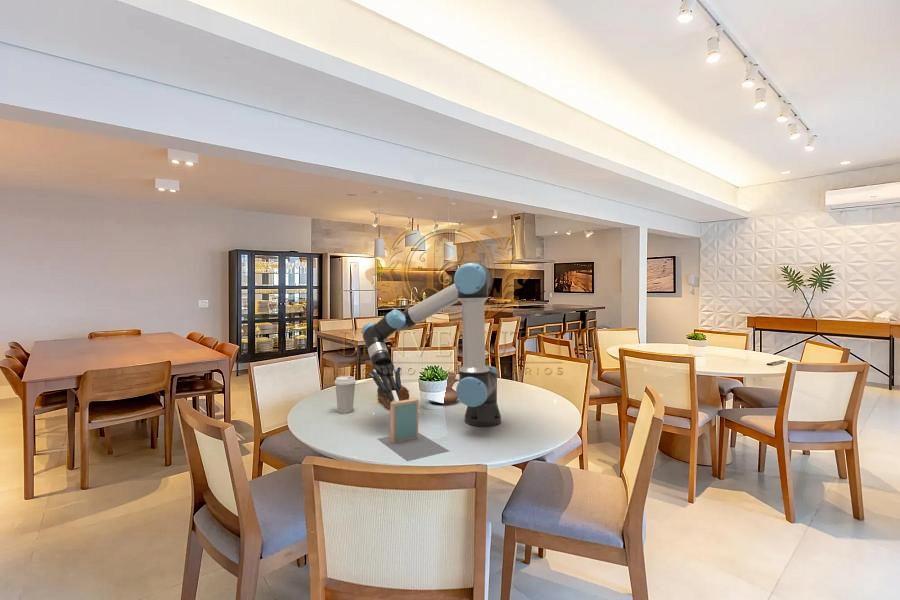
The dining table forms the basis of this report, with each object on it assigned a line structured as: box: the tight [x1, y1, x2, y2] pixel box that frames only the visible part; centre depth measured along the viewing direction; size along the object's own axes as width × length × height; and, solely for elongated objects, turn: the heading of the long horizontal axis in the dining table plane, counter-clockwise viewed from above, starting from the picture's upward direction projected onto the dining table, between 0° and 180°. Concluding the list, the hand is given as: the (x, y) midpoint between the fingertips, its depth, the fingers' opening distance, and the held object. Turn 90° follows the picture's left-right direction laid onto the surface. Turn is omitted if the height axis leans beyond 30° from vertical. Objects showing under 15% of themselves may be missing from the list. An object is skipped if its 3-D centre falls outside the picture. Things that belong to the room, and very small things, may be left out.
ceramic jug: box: [444, 370, 459, 405], centre depth 209 cm, size 18×14×14 cm
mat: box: [377, 432, 450, 462], centre depth 151 cm, size 24×16×1 cm, turn 33°
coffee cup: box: [333, 375, 357, 414], centre depth 193 cm, size 10×10×15 cm
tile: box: [389, 398, 419, 443], centre depth 155 cm, size 3×10×14 cm, turn 123°
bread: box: [376, 383, 410, 410], centre depth 205 cm, size 19×11×10 cm, turn 25°
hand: (397, 407), depth 159 cm, fingers closed
